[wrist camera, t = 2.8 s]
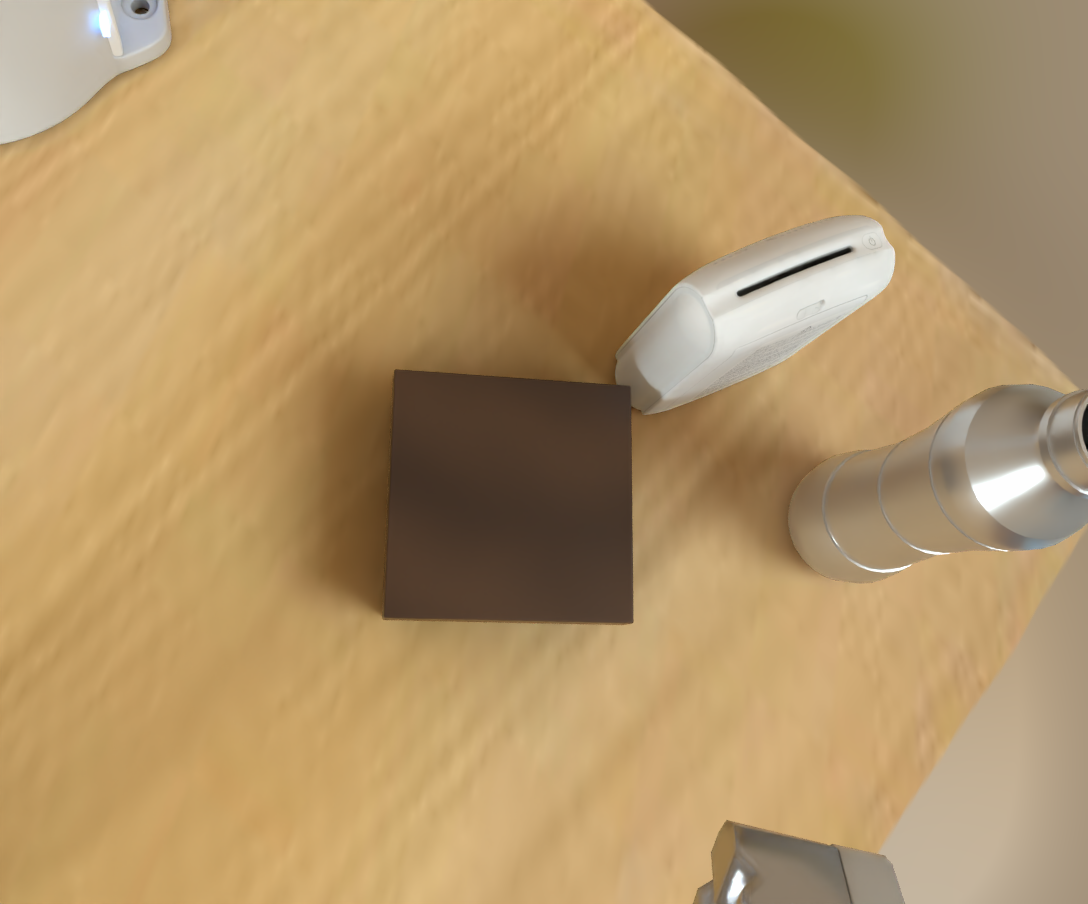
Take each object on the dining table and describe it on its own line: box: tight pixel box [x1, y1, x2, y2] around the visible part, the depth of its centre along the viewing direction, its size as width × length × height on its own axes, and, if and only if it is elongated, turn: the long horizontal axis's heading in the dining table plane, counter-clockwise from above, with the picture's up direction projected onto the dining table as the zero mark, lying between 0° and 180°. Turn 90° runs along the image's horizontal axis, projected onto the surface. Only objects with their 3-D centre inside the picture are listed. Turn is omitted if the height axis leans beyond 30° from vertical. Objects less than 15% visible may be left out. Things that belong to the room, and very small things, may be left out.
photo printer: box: [615, 215, 895, 415], centre depth 47 cm, size 10×4×12 cm, turn 115°
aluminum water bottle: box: [788, 384, 1088, 583], centre depth 43 cm, size 6×7×20 cm
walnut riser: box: [382, 370, 633, 625], centre depth 47 cm, size 11×11×4 cm
